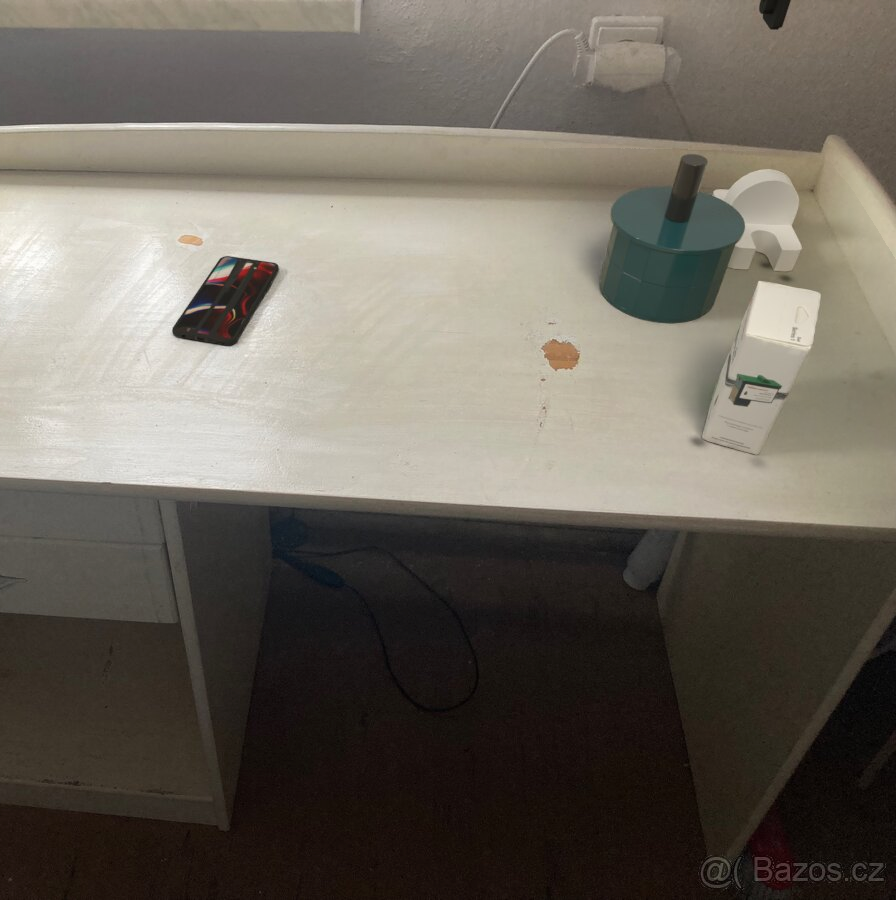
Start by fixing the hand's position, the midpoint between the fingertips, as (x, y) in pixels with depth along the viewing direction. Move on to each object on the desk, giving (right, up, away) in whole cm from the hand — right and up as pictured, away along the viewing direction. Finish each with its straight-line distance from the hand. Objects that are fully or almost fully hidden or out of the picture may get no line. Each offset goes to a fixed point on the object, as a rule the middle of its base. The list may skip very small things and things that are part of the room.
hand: (839, 24), depth 65 cm
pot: (-3, -15, +27) cm, 31 cm away
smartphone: (-48, -16, +28) cm, 58 cm away
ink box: (-1, -29, +12) cm, 32 cm away
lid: (-3, -9, +21) cm, 23 cm away
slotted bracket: (+11, -8, +33) cm, 36 cm away
